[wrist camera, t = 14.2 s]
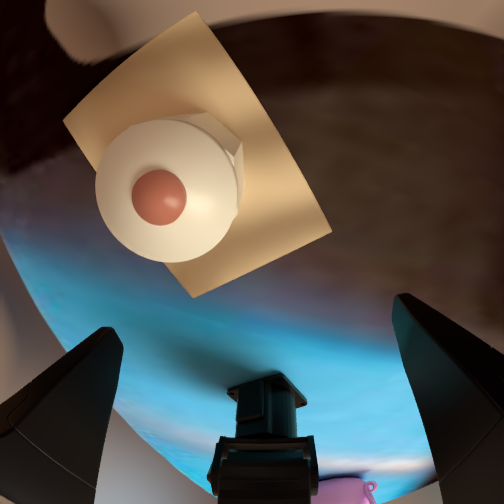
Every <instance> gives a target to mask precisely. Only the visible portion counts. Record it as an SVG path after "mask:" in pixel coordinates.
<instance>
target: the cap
mask: <svg viewBox="0 0 504 504" xmlns="http://www.w3.org/2000/svg"><path fill="white" fill-rule="evenodd" d="M244 186H245V181H244V164H243V148H242V142H241V140H240V139H239V138H238V137H237V136H235V135H234V134H233V133H232V132H231V131H229V130H228V129H227V128H226V127H225V126H223V125H222V124H221V123H220V122H219V121H217V120H216V119H215V118H214V117H213V116H211V115H210V114H209V113H208V112H201V113H192V114H184V115H176V116H169V117H162V118H158V119H154V120H150V121H146V122H143V123H139V124H135V125H132V126H129V128H128V129H127V130H125V131H124V132H122V133H121V134H120V135H118V136H117V137H116V138H115V139H114V140H113V141H112V142H111V143H110V145H109V146H108V148H107V149H106V150H105V152H104V154H103V156H102V158H101V160H100V163H99V166H98V169H97V174H96V183H95V189H96V199H97V204H98V207H99V211H100V213H101V215H102V218H103V220H104V222H105V223H106V225H107V227H108V228H109V230H110V231H111V232H112V234H113V235H114V236H115V237H116V238H117V239H118V240H119V241H120V242H121V243H122V244H123V245H124V246H126V247H127V248H128V249H130V250H131V251H133V252H135V253H136V254H138V255H140V256H143V257H145V258H148V259H151V260H154V261H160V262H170V263H174V262H183V261H188V260H191V259H194V258H197V257H199V256H201V255H203V254H205V253H207V252H208V251H210V250H211V249H212V248H214V247H215V246H216V245H217V244H218V243H219V242H220V241H221V239H222V238H223V237H224V236H225V234H226V233H227V231H228V229H229V227H230V225H231V223H232V220H233V219H234V218H235V217H236V216H237V215H238V211H239V207H240V203H241V198H242V194H243V190H244Z"/></svg>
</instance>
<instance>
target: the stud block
mask: <svg viewBox="0 0 504 504" xmlns="http://www.w3.org/2000/svg"><path fill="white" fill-rule="evenodd" d="M201 112H208V113H209V114H210V115H211V116H213V117H214V118H215V119H216V120H217V121H219V122H220V123H221V124H222V125H223V126H225V127H226V128H227V129H228V130H229V131H231V132H232V133H233V134H234V135H235V136H237V137H238V138H239V139H240V140H241V142H242V148H243V164H244V181H245V186H244V190H243V194H242V198H241V203H240V207H239V211H238V215H237V216H236V217H235V218H234V219H233V220H232V223H231V225H230V227H229V229H228V231H227V233H226V234H225V236H224V237H223V238H222V239H221V241H220V242H219V243H218V244H217V245H216V246H215V247H214V248H212V249H211V250H210V251H208V252H207V253H205V254H203V255H201V256H199V257H197V258H194V259H191V260H188V261H183V262H174V263H170V262H164V264H165V265H166V266H167V267H168V269H169V270H170V271H171V272H172V274H173V275H174V276H175V277H176V278H177V280H178V281H179V282H180V283H181V284H182V286H183V287H184V288H185V289H186V290H187V292H188V293H189V294H190V295H191V296H192V298H195V297H198V296H200V295H202V294H204V293H206V292H208V291H210V290H212V289H214V288H217V287H219V286H221V285H223V284H225V283H227V282H229V281H231V280H233V279H236V278H238V277H240V276H242V275H244V274H246V273H248V272H250V271H252V270H254V269H256V268H258V267H261V266H263V265H265V264H267V263H269V262H271V261H273V260H275V259H277V258H279V257H281V256H283V255H285V254H287V253H289V252H291V251H294V250H296V249H298V248H300V247H302V246H304V245H306V244H308V243H310V242H312V241H314V240H316V239H318V238H320V237H322V236H324V235H326V234H328V233H330V232H332V230H331V228H330V225H329V223H328V221H327V220H326V218H325V216H324V214H323V212H322V210H321V208H320V206H319V204H318V202H317V200H316V198H315V196H314V195H313V193H312V191H311V189H310V187H309V185H308V183H307V182H306V180H305V178H304V176H303V174H302V173H301V171H300V169H299V167H298V165H297V164H296V162H295V160H294V158H293V157H292V155H291V153H290V151H289V150H288V148H287V146H286V144H285V143H284V141H283V139H282V138H281V136H280V134H279V133H278V131H277V129H276V128H275V126H274V124H273V123H272V121H271V119H270V118H269V116H268V114H267V113H266V111H265V110H264V108H263V106H262V105H261V103H260V102H259V100H258V98H257V97H256V95H255V94H254V92H253V91H252V89H251V88H250V86H249V85H248V83H247V81H246V80H245V78H244V77H243V75H242V74H241V72H240V71H239V69H238V68H237V67H236V65H235V64H234V62H233V61H232V59H231V58H230V56H229V55H228V53H227V52H226V51H225V49H224V48H223V46H222V45H221V44H220V42H219V41H218V39H217V38H216V37H215V35H214V34H213V32H212V31H211V30H210V28H209V27H208V26H207V24H206V23H205V22H204V20H203V19H202V18H201V16H200V15H199V14H198V13H197V12H196V11H194V12H193V13H191V14H189V15H188V16H186V17H185V18H183V19H181V20H180V21H179V22H177V23H175V24H174V25H172V26H171V27H169V28H168V29H166V30H165V31H164V32H162V33H161V34H159V35H158V36H156V37H155V38H154V39H152V40H151V41H150V42H148V43H147V44H146V45H144V46H143V47H142V48H140V49H139V50H138V51H137V52H135V53H134V54H133V55H132V56H130V57H129V58H128V59H127V60H125V61H124V62H123V63H122V64H121V65H119V66H118V67H117V68H116V69H115V70H114V71H113V72H111V73H110V74H109V75H108V76H107V77H106V78H105V79H104V80H102V81H101V82H100V83H99V84H98V85H97V86H96V87H95V88H94V89H93V90H92V91H91V92H90V93H89V94H88V95H87V96H86V97H85V98H84V99H83V100H82V101H81V102H80V103H79V104H78V105H77V106H76V107H75V108H74V109H73V110H72V111H71V112H70V113H69V114H68V115H67V117H66V118H65V119H64V120H63V122H64V123H65V125H66V127H67V128H68V130H69V131H70V133H71V135H72V136H73V138H74V139H75V141H76V142H77V144H78V145H79V147H80V149H81V150H82V152H83V153H84V155H85V156H86V158H87V159H88V161H89V162H90V164H91V165H92V167H93V168H94V169H95V171H96V172H97V169H98V166H99V163H100V160H101V158H102V156H103V154H104V152H105V150H106V149H107V148H108V146H109V145H110V143H111V142H112V141H113V140H114V139H115V138H116V137H117V136H118V135H120V134H121V133H122V132H124V131H125V130H127V129H128V128H129V126H132V125H135V124H139V123H143V122H146V121H150V120H154V119H158V118H162V117H169V116H176V115H184V114H192V113H201Z"/></svg>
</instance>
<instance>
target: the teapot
mask: <svg viewBox="0 0 504 504" xmlns="http://www.w3.org/2000/svg"><path fill="white" fill-rule="evenodd" d="M371 485H373V489H372V490H371V489H370V486H371ZM377 488H378V484H377V483H376V482H375V481H368V482H365V481H363V480H362V479H359V478H332V479H330V480H325V481H320V482H319V486H318V494H317V496H311V504H369V503H370V504H376V501H375V499H374V497H373V495H372V493H371V492H375V491H376V490H377Z"/></svg>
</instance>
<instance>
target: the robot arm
mask: <svg viewBox="0 0 504 504" xmlns="http://www.w3.org/2000/svg"><path fill="white" fill-rule="evenodd" d="M392 324H393V327H394V331H395V335H396V339H397V342H398V346H399V350H400V354H401V358H402V362H403V366H404V369H405V372H406V375H407V377H408V380H409V383H410V386H411V389H412V391H413V394H414V397H415V400H416V403H417V406H418V409H419V413H420V416H421V419H422V422H423V425H424V429H425V432H426V435H427V439H428V442H429V446H430V450H431V453H432V457H433V461H434V465H435V469H436V473H437V477H438V481H439V486H440V491H441V495H442V500H443V504H504V355H503V354H502V353H500V352H499V351H497V350H496V349H494V348H493V347H492V348H491V346H490V345H488V344H487V343H485V342H484V341H482V340H481V339H479V338H478V337H476V336H475V335H473V334H472V333H470V332H469V331H467V330H466V329H464V328H463V327H461V326H460V325H458V324H457V323H455V322H454V321H452V320H451V319H449V318H447V317H446V316H444V315H443V314H441V313H440V312H438V311H436V310H435V309H433V308H432V307H430V306H429V305H427V304H425V303H424V302H422V301H421V300H419V299H417V298H416V297H414V296H413V295H411V294H409V293H402V294H397V295H396V296H395V297H394V302H393V310H392ZM122 356H123V344H122V342H121V340H120V338H119V337H118V335H117V333H116V332H115V330H114V329H113V328H112V327H101V328H99V329H98V330H97V331H95V332H94V333H93V334H91V335H90V336H89V337H87V338H86V339H85V340H83V341H82V342H81V343H80V344H78V345H77V346H76V347H74V348H73V349H72V350H70V351H69V352H68V353H67V354H65V355H64V356H63V357H61V358H60V359H59V360H58V361H56V362H55V363H54V364H52V365H51V366H50V367H49V368H47V369H46V370H45V371H43V372H42V373H41V374H40V375H38V376H37V377H36V378H35V379H33V380H32V381H31V382H30V383H28V384H27V385H26V386H24V387H23V388H22V389H21V390H19V391H18V392H17V393H15V394H14V395H13V396H11V397H10V398H9V399H7V400H6V401H4V402H3V403H2V404H0V504H94V499H95V493H96V489H95V488H96V485H97V479H98V473H99V468H100V462H101V456H102V452H103V446H104V442H105V437H106V433H107V428H108V424H109V419H110V415H111V410H112V407H113V403H114V399H115V395H116V390H117V386H118V380H119V374H120V367H121V362H122ZM227 395H228V396H230V397H231V398H232V399H233V400H234V401H236V402H237V410H236V422H237V423H236V433H235V438H230V437H226V436H220V439H219V442H218V443H216V448H215V454H214V458H213V462H212V464H211V466H210V469H209V471H208V474H207V480H208V481H209V482H210V483H211V487H212V492H213V495H214V496H218V504H311V496H317V494H318V486H319V473H318V463H317V456H316V449H315V443H314V436H313V435H311V436H307V437H297V422H296V408H300V407H303V406H306V405H307V400H306V399H305V398H304V397H303V395H302V394H301V393H300V392H299V391H298V390H297V389H296V388H295V387H294V386H293V384H292V383H291V382H290V381H289V380H288V379H287V378H286V377H285V376H284V375H283V374H275V375H272V376H269V377H266V378H263V379H260V380H257V381H253V382H250V383H247V384H243V385H240V386H236V387H233V388H229V389H228V390H227Z"/></svg>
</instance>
